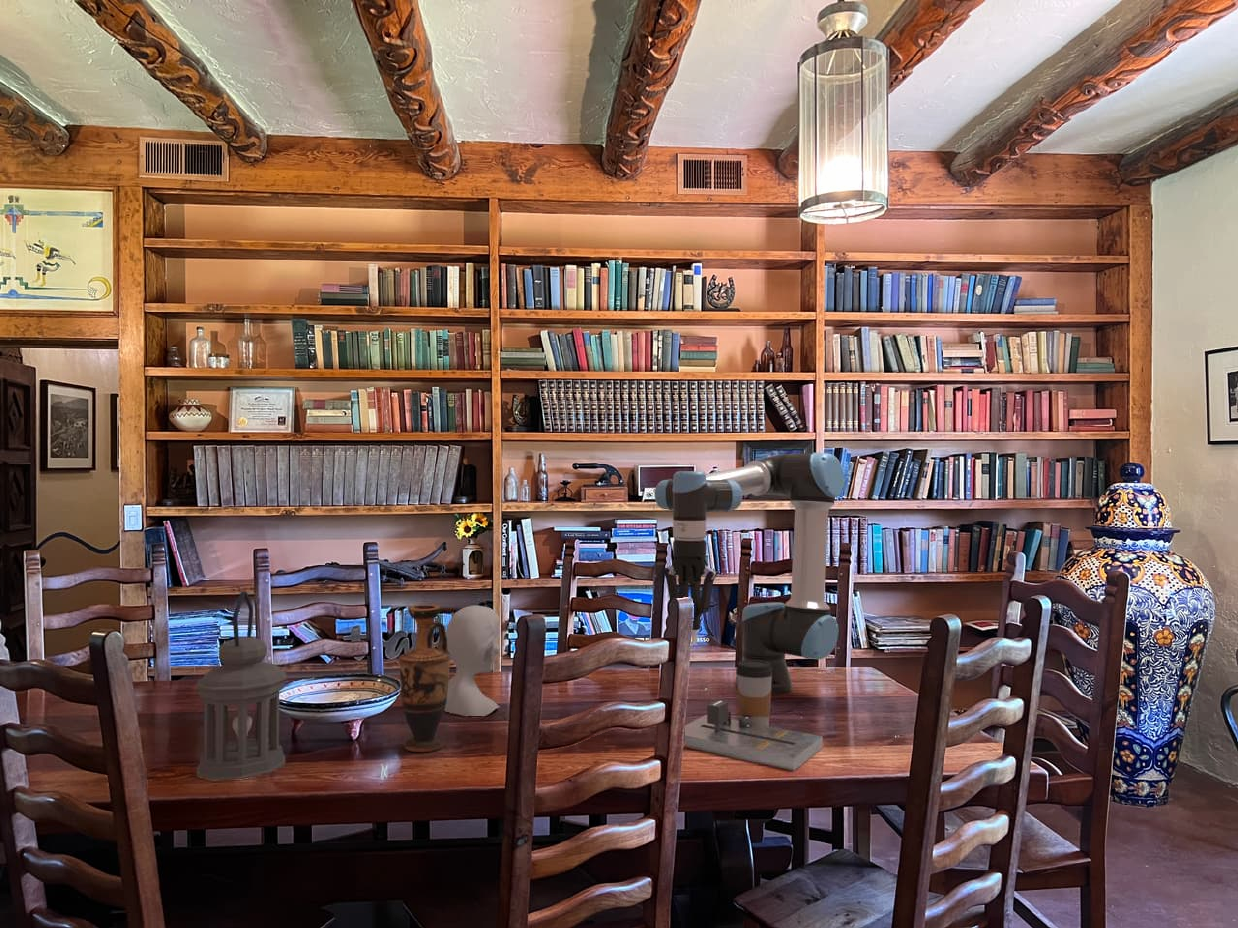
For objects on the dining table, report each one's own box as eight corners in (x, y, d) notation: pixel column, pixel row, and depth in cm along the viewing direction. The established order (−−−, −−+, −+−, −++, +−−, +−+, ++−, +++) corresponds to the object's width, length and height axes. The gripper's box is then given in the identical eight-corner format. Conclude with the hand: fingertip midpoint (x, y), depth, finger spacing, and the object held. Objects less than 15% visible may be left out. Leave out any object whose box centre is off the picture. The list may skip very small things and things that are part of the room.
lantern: (281, 776, 155) (283, 595, 155) (185, 786, 150) (187, 598, 151) (291, 748, 171) (292, 584, 171) (204, 756, 166) (206, 587, 167)
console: (706, 725, 187) (706, 705, 187) (822, 747, 171) (822, 726, 171) (671, 743, 174) (671, 723, 174) (794, 770, 158) (793, 747, 158)
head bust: (529, 701, 207) (529, 604, 208) (478, 720, 191) (479, 615, 191) (467, 689, 219) (467, 597, 219) (414, 706, 203) (414, 607, 203)
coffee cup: (772, 735, 180) (772, 668, 180) (735, 733, 181) (735, 666, 181) (773, 724, 188) (772, 660, 188) (737, 722, 189) (737, 658, 190)
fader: (716, 731, 179) (716, 699, 179) (727, 733, 178) (727, 701, 178) (707, 736, 175) (707, 703, 176) (718, 739, 174) (718, 705, 174)
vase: (404, 758, 165) (405, 612, 165) (393, 742, 174) (394, 605, 175) (456, 750, 170) (456, 608, 170) (442, 735, 179) (443, 601, 180)
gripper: (654, 538, 182) (654, 642, 182) (709, 541, 174) (709, 650, 174) (671, 536, 188) (671, 637, 188) (724, 539, 180) (725, 644, 180)
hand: (689, 643), depth 181 cm, fingers closed
